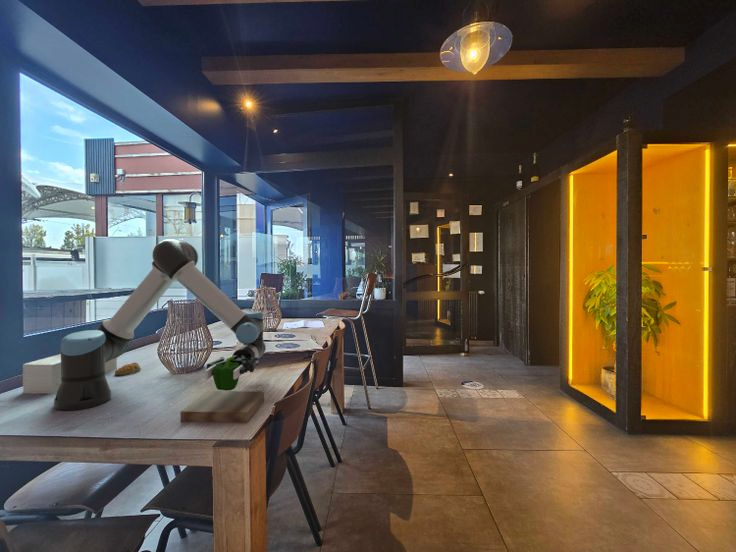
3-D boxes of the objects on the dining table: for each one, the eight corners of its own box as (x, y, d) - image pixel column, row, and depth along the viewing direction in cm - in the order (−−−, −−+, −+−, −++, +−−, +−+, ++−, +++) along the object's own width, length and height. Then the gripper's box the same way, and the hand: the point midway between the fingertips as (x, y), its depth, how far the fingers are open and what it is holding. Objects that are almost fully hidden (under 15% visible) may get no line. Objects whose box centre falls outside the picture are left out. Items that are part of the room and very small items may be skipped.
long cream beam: (93, 368, 160) (93, 345, 160) (116, 369, 160) (116, 345, 160) (22, 393, 128) (22, 364, 128) (51, 394, 128) (51, 364, 128)
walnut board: (180, 421, 107) (180, 411, 107) (207, 399, 125) (207, 390, 125) (247, 422, 107) (247, 412, 107) (264, 400, 125) (264, 391, 125)
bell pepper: (218, 395, 110) (218, 363, 110) (209, 388, 116) (209, 357, 116) (245, 389, 116) (245, 358, 115) (234, 382, 122) (234, 353, 121)
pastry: (122, 377, 148) (122, 368, 148) (110, 376, 150) (110, 366, 150) (142, 371, 157) (142, 362, 157) (130, 370, 159) (130, 361, 159)
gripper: (273, 366, 134) (254, 387, 111) (217, 366, 134) (186, 386, 111) (273, 347, 134) (254, 363, 111) (217, 346, 133) (186, 362, 111)
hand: (220, 374), depth 111 cm, fingers closed on bell pepper, 8 cm apart
